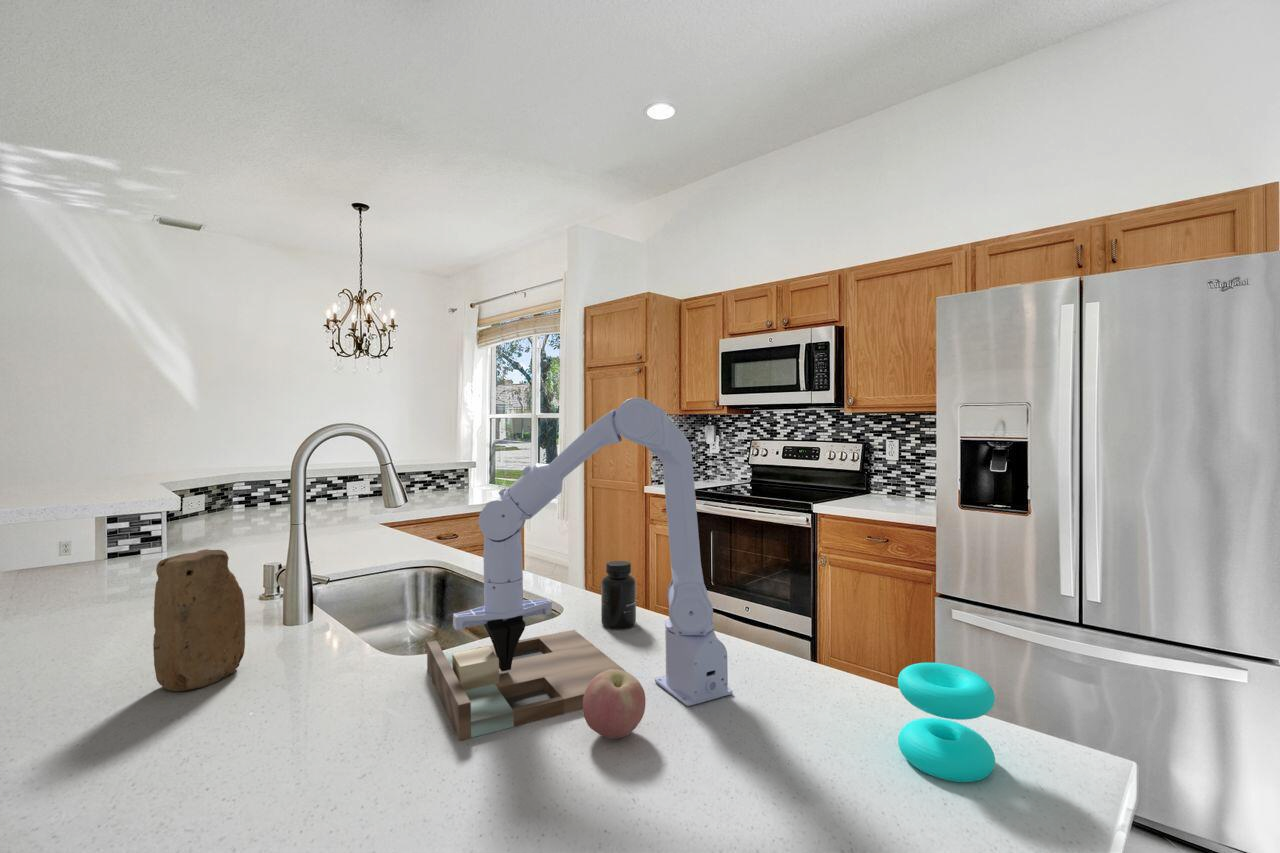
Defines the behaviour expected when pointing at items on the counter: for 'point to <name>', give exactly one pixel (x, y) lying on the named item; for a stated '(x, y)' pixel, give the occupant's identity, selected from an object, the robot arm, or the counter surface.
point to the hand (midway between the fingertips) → (504, 668)
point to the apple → (614, 703)
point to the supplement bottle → (618, 596)
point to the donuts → (946, 721)
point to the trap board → (520, 684)
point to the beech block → (476, 667)
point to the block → (197, 620)
